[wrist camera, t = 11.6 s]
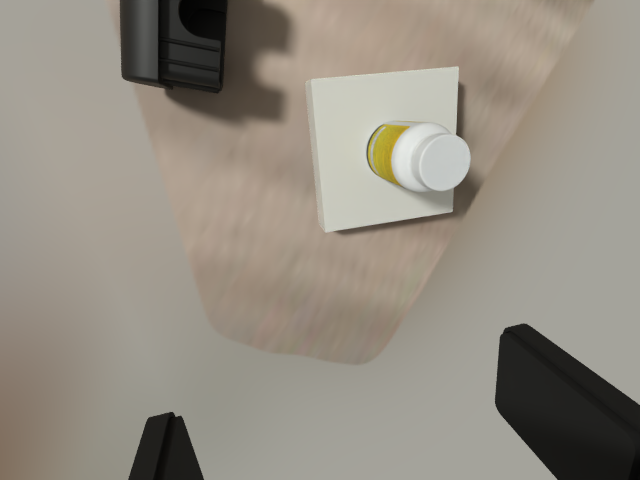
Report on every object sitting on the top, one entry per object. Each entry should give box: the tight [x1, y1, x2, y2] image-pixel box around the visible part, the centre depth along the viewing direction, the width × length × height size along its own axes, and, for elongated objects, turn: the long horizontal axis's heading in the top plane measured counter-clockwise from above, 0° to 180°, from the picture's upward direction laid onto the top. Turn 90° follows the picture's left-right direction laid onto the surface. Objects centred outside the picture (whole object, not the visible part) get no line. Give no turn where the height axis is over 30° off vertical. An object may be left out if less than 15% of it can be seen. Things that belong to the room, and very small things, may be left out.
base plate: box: [305, 67, 459, 232], centre depth 35 cm, size 14×14×3 cm
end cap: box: [120, 0, 227, 93], centre depth 26 cm, size 10×7×7 cm
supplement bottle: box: [365, 121, 471, 192], centre depth 29 cm, size 5×5×10 cm
